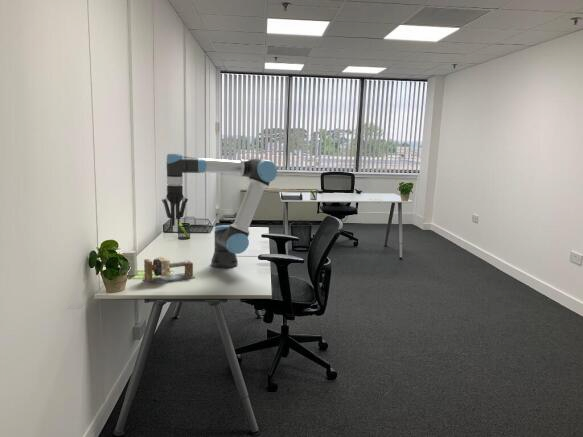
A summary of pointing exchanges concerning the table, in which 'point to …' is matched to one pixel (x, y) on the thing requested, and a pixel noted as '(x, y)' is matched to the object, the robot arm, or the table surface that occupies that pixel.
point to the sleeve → (164, 266)
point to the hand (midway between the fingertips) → (175, 231)
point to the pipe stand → (175, 277)
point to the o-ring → (159, 269)
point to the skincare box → (131, 261)
